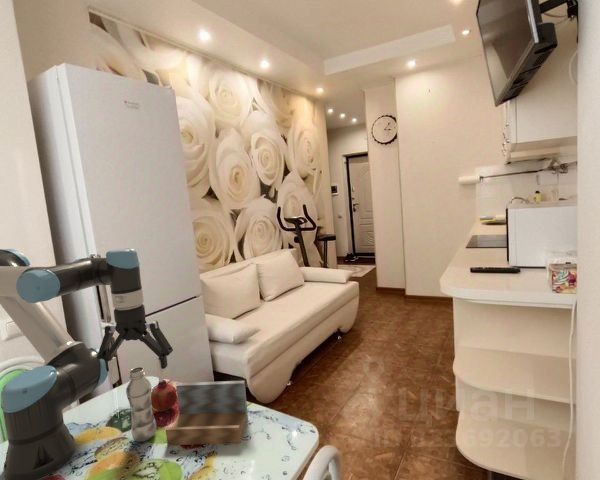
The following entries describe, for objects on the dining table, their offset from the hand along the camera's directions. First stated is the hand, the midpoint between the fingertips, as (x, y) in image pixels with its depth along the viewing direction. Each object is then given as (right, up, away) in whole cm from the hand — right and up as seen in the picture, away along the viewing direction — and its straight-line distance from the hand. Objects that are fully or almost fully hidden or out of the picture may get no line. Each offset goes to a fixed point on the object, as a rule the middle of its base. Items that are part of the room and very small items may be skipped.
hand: (138, 380), depth 96 cm
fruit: (+2, -16, +15) cm, 22 cm away
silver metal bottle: (+1, -17, +2) cm, 17 cm away
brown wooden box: (+19, -16, +2) cm, 25 cm away
